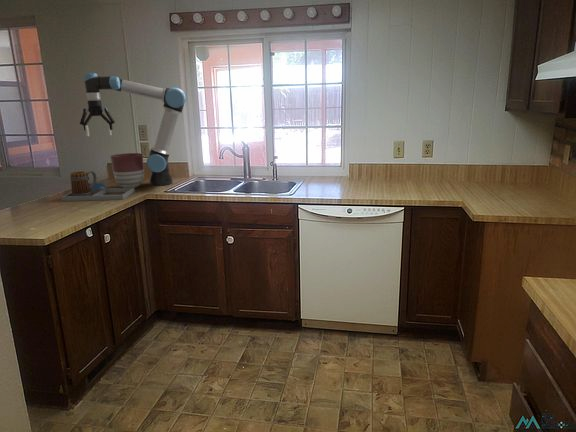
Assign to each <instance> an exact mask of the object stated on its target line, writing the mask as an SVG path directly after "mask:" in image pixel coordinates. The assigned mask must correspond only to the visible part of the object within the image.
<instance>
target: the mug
mask: <svg viewBox="0 0 576 432" xmlns="http://www.w3.org/2000/svg"><path fill="white" fill-rule="evenodd" d="M90 174H91V175H92V176H93V181H92V182H91V183H92V185H91V186H90V187H89V183H90V182H89V180H90V179H91V178H90V177H89V175H90ZM69 175H70V185H71V192H72V196H92V195H94V194H96V193H95V191H92V188H93V187H94V186H95V184H96V183H97V174H96V172H95V171H93V170H88V171H84V170H83V171H80V170H79V171H73V172H70V174H69Z"/></svg>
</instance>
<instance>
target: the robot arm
mask: <svg viewBox="0 0 576 432" xmlns="http://www.w3.org/2000/svg"><path fill="white" fill-rule="evenodd" d="M83 79H84V81H83V82H84V86H85V94H86V99H87V106H88V108H83V109H82V110H83V111H82V112H83V113H82V116H81V119H80V121H79V125H82V126H83V130H84V132H85V134H86V137H90V135H91V134H90V128H89V125H88V123H89V121H90V120H91V119H92V117H101V118H102V119H103V120H104V121H105V122H106V123H107V131H108V135H109V136H113V134H112V133H113V132H112V131H113V124H115V123H116V122H115V120H114V118H113V117H112V115H111V114H110V112H109V109H108V108H107V107H103V106H102V105H103V104H102V100H101V99H102V98H101V91H102V90H105V91H106V90H111V91H117V92H120V93H121V92H122V93H126V94H130V95H131V94H132V95H134V96H135V95H136V96H140V97H144V98H149V99H152V100H157V101H158V100H159V101H162V103H163V106H162V107H163V109H164V111H163V115H162V118H161V123H160V126H159V129H158V133H157V136H156V140H155V143H154V146H153V147H151V148H150V150H149V153H148V157H147V159H146V166H147V168H148V169H149V170H150V172H151V174H150V177H149V178H150V179H149V185H150V186H157V187H158V186H159V187H160V186H167V185H171V184H173V183H174V180H173V178H172V175H171V173H170V167H169V157H170V152H169V148H170V145H171V141H172V138H173V135H174V130H175V127H176V124H177V121H178V117H179V115H180V114H182V113H183V111H184V110H183V109H184V105H185V103H186V101H187V96H186V93H185V92H184V91H183V90H182V89H181V88H179V87H171V88H170V87H164V88H162V87H157V86H153V85H149V84H144V83H139V82H135V81H132V80H126V79H121V78H119V76H114V75H109V76H99V75H98V74H97V73H96V72H88V73H87V72H86V73H84V74H83ZM103 112H104V113H105V114H104V113H103ZM88 113H89V114H88ZM87 114H88V116H87Z"/></svg>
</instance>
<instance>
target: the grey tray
mask: <svg viewBox="0 0 576 432" xmlns="http://www.w3.org/2000/svg"><path fill="white" fill-rule="evenodd" d="M88 183H89V187H90V186H91V185H92V183H93V182H88ZM92 191H95V193H94V194H91V196H72V191H71V192H69V193H67V194H65V195H63V196H61V198H60V199H61V202H75V201H76V202H78V201H80V202H81V201H109V200H111V201H112V200H115V201H116V200H117V201H118V200H125V199H126V198H128V197H129V196H131V195H132V194H134V193H135V188H123V187H120V188H119V187H117V188H116V187H115V188H114V187H113V188H111V187H110V188H106V182H96V184H95V186H94V187H93V188H92ZM108 193H109V194H108ZM110 193H112V194H110ZM113 193H116V194H113ZM117 193H122V194H117Z"/></svg>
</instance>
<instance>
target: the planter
mask: <svg viewBox="0 0 576 432" xmlns="http://www.w3.org/2000/svg"><path fill="white" fill-rule="evenodd" d="M110 162H111V163H110V164H111V168H112V173H113V176H114V177H113V178H114V180H115V182H116V184H117V185H118V186H119V187H120V188H134V189H135V188H137V187H139V186H140V185H141V184H142V183H143V180H144V175H145V172H144V171H145V169H144V156H143V153H139V152H138V153H137V152H135V153H133V152H132V153H129V152H128V153H117V154H112V155H110Z"/></svg>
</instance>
